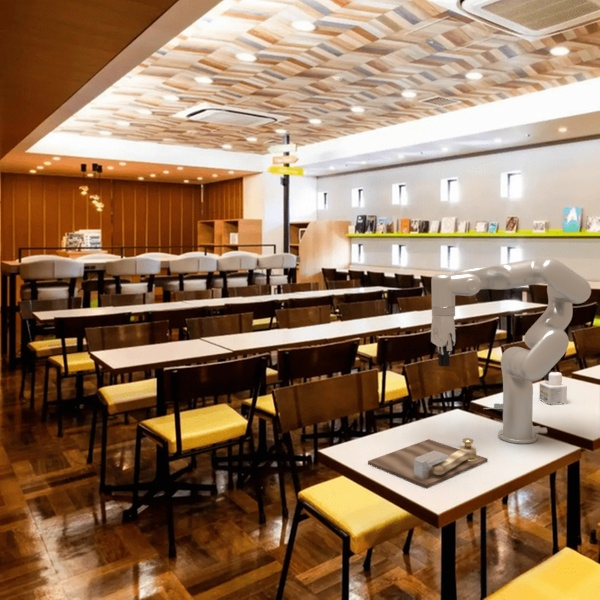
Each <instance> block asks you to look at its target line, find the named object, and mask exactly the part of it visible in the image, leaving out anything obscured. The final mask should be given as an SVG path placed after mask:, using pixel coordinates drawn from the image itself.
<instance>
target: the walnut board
mask: <svg viewBox="0 0 600 600" xmlns="http://www.w3.org/2000/svg"><path fill="white" fill-rule="evenodd" d="M434 450H435V451H438V452H441V453H444V454H447V455H448V456H449V455H451V454H453V453H455V452H456V451H458V450H460V448H457V447H453V446H450V445H447V444H444V443H441V442H439V441H436V440H433V439H429V438H428V439H426V440H422V441H420V442H417V443H415V444H412V445H409V446H405V447H403V448H400V449H397V450H395V451H392V452H389V453H387V454H384V455H381V456H379V457H378V456H377V457H375V458H373V459H370V460H368V461H367V465H369V464H371V465H372V466H371V465H370V466H371V467H374V466H375V467H374V468H376V467H377V469H379V470H381V469H382V470H381V471H383V470H384V472H386V471H387V473H388V472H389V474H390V475H393V476H395V475H396V477H398V478H401V479H402V478H403V480H405V481H408V482H409V483H412V484H415V485H417V486H420V487H421V488H424V489H428V488H431V487H434V486H435V485H438V484H440V483H442V482H444V481H446V480H449V479H452V478H454V477H456V476H458V475H460V474H463V473H465V472H468V471H469V470H471V469H475V468H476V467H478V466H481V465H483V464H485V463H488V458H487V457H484V456H481V455H478V454H476V455H477V456H478V457H479V459H478V460H477V461H474V462H466V461H463V462H462V463H460V464H458V465H457V466H455V467H453V468H452V469H450V470H448V471H447V472H445V473H443V474H442V475H436V474H433V465H432V466H430V467H429V478H427V479H424V480H420V479H417V478H415V477H414V459H415V458H416V457H418V456H421V455H424V454H426V453H429V452H432V451H434Z"/></svg>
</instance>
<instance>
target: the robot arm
mask: <svg viewBox="0 0 600 600" xmlns="http://www.w3.org/2000/svg"><path fill="white" fill-rule="evenodd" d="M539 284H543V285H547V288H546V292H547V299H548V303H547V307H546V309H545V311H544V312H543V313H542V314H541V315H540V317H539V318H538V319H537V320H536V321H535V322H534V324H532V325H531V327H530V328H528V330H527V332H525V335H524V337H523V338H524V340H523V341H524V343H525V345H526V347H528V348H529V349H526V348H523V347H520V346H512V347H508V348H507V349H505V350H504V352H502V354H501V357H500V368H501V369H500V370H501V375H502V385H503V386H502V404H503V409H502V429H500V430H499V431H497V437H498V438H499V439H500V440H502V441H505V442H508V443H514V444H522V445H523V444H532V443H535V442H537V440H538V434H548V428H547V427H541V425H536V426H535V425H533V404H534V403H533V401H534V399H533V398H534V397H533V396H534V387H533V386H534V385H533V382H537V381H539V380H541V379H543V378H545V375H546V374H547V373H548V372H549V371H551V369H552V368H554V366H555V365H556V364H557V363H558V362H559V361H560V360H561V358H562V357H563V356H564V355H565V353H566V352H567V350H568V348H569V343H570V342H569V341H570V340H569V337H568V334H567V333H566V332H565V330H566V328H567V327H568V326H569V324H570V323H571V321H572V318H573V313H574V312H573V309H574V308H573V304H577V305H579V304H582V303H585V302H586V301H587V300H588V299H590V296H591V294H592V287H591V285H590V283H589V281H587V279H585V278H584V277H583V276H581V275H580V274H579V273H577V272H576V271H574V270H573V269H571V268H570V267H568V266H567V265H566V264H564V263H562V262H561V261H560V260H557V259H555V258H545V257H544V258H543V257H541V258H540V257H539V258H531V259H530V258H529V259H525V260H519V261H515V262H509V263H502V264H496V265H490V266H484V267H478V268H472V269H466V270H461V271H456V272H453V273H452V274H446V273H444V274H443V273H442V274H438V273H437V274H433V275H432V277H431V325H430V327H431V328H430V343H432V344H434V345H435V346H436V347H437V353H438V366H440V368H441V367H450V364H451V362H450V354H451V351H453V347H455V344H456V326H455V317H456V296H465V297H472V296H475V295H476V294H478V293H479V292H480V290H499V291H500V290H511V289H515V288H521V287H525V286H527V287H528V286H533V285H539Z"/></svg>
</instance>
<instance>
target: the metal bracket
mask: <svg viewBox="0 0 600 600" xmlns="http://www.w3.org/2000/svg"><path fill="white" fill-rule="evenodd" d="M490 409H491V410H503V403H493V407H483V410H490Z"/></svg>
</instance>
